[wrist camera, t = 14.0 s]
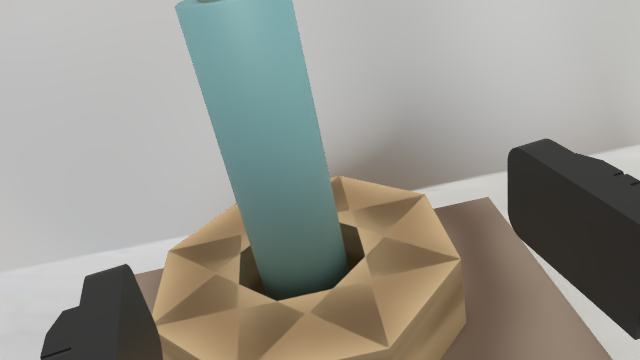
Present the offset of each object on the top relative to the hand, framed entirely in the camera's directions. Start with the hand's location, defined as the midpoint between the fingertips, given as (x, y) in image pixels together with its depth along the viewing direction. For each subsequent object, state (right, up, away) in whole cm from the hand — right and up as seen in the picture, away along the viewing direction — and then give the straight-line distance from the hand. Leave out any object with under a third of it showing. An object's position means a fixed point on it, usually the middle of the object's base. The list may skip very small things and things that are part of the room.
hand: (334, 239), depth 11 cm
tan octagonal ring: (0, -5, +15) cm, 16 cm away
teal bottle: (0, -5, +15) cm, 16 cm away
